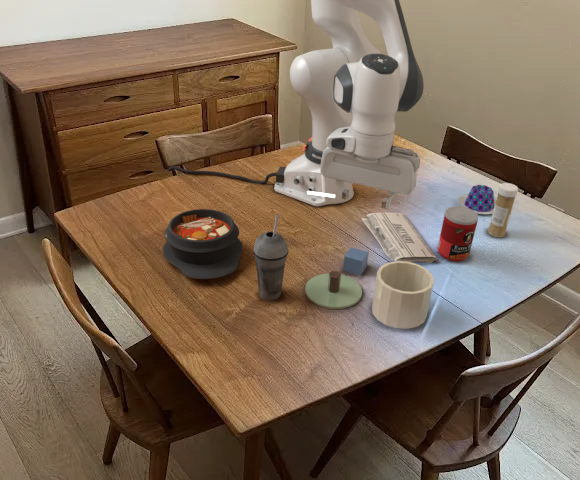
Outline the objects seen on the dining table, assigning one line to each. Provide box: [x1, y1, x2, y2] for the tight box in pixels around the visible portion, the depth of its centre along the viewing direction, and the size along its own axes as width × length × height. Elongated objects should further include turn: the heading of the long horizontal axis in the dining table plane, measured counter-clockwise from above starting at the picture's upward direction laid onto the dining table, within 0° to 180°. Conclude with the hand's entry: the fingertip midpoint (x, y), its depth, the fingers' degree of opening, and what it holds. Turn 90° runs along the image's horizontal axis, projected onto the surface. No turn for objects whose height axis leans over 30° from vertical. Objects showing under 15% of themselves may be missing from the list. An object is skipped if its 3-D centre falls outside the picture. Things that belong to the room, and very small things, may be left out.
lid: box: [304, 270, 363, 310], centre depth 131 cm, size 12×12×5 cm
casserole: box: [162, 208, 244, 280], centre depth 140 cm, size 25×19×8 cm
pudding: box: [457, 184, 497, 215], centre depth 167 cm, size 12×12×5 cm
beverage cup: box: [252, 213, 289, 301], centre depth 125 cm, size 7×7×20 cm
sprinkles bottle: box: [487, 182, 519, 238], centre depth 153 cm, size 5×5×14 cm
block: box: [342, 246, 369, 276], centre depth 139 cm, size 4×4×4 cm
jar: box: [371, 261, 435, 330], centre depth 126 cm, size 11×11×10 cm
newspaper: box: [361, 211, 438, 264], centre depth 151 cm, size 23×12×2 cm, turn 14°
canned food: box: [437, 205, 479, 263], centre depth 145 cm, size 8×8×11 cm
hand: (364, 202), depth 130 cm, fingers open, 8 cm apart
